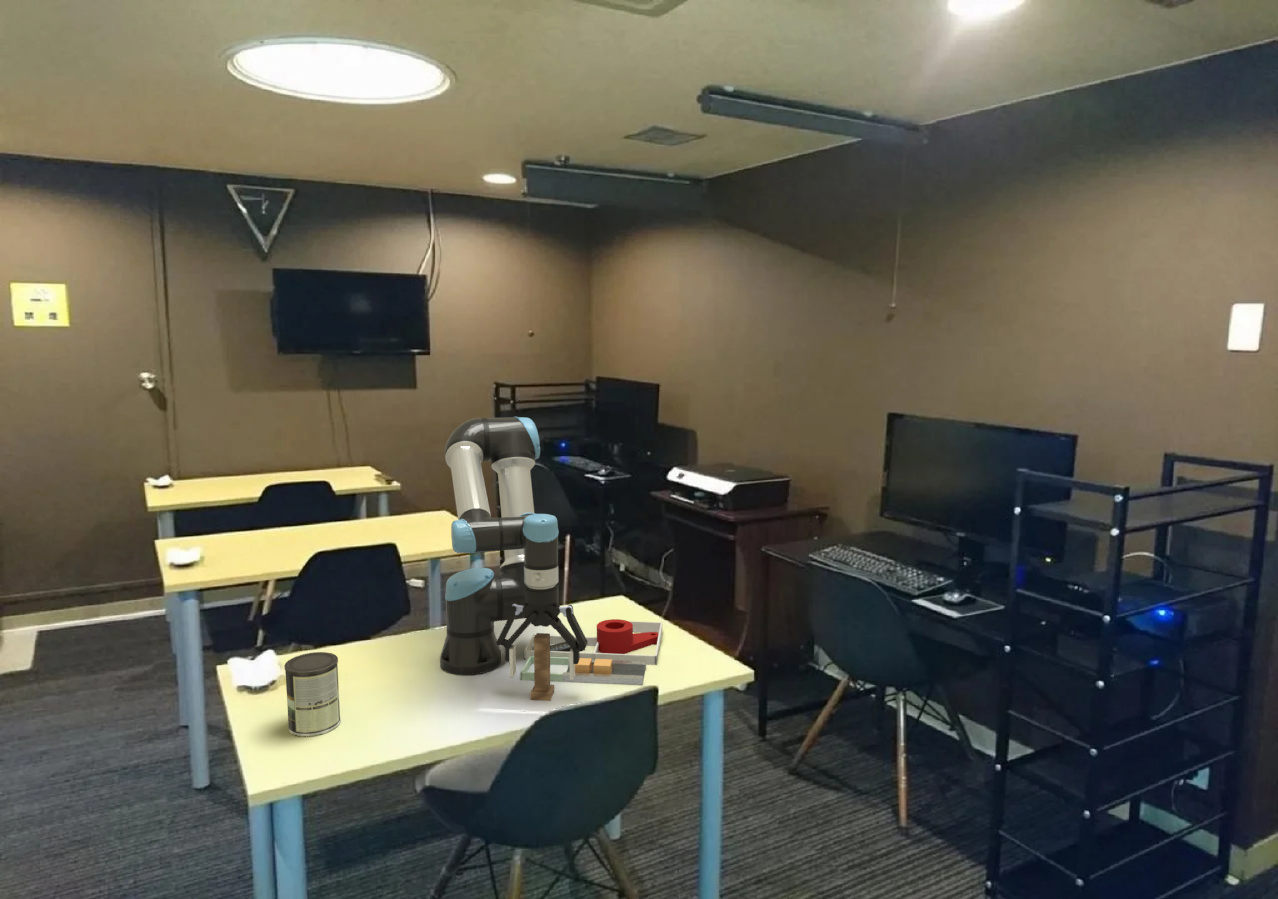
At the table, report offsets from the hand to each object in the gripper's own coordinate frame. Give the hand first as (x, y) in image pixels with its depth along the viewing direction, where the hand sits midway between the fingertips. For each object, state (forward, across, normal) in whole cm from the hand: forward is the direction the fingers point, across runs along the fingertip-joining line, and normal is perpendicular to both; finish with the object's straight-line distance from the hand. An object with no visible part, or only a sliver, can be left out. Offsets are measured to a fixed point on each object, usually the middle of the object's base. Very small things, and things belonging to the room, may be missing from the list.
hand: (542, 676), depth 179 cm
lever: (+5, +16, +32) cm, 37 cm away
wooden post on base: (+6, 0, 0) cm, 6 cm away
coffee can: (+6, -45, -17) cm, 48 cm away
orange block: (+5, +12, +13) cm, 18 cm away
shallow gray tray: (+6, +12, +13) cm, 19 cm away
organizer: (+5, +8, +32) cm, 34 cm away
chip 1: (+5, +7, +13) cm, 16 cm away
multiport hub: (+5, 0, +26) cm, 26 cm away
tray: (+5, -2, +13) cm, 14 cm away
